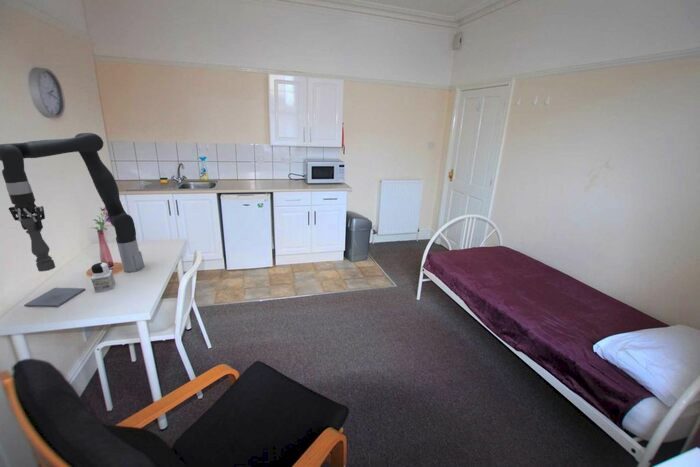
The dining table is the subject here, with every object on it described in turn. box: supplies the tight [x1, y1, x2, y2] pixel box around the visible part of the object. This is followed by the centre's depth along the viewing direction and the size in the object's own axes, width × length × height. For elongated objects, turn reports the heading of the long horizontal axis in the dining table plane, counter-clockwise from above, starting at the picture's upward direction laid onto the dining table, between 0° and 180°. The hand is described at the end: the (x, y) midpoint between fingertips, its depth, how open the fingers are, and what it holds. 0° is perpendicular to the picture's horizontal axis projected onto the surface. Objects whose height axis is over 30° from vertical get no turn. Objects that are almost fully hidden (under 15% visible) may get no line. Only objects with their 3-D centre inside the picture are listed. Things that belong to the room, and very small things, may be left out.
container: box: [90, 262, 116, 293], centre depth 168 cm, size 8×8×13 cm
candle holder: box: [21, 215, 56, 272], centre depth 151 cm, size 6×6×25 cm
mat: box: [23, 287, 86, 308], centre depth 160 cm, size 16×16×1 cm
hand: (33, 229), depth 149 cm, fingers closed on candle holder, 5 cm apart
